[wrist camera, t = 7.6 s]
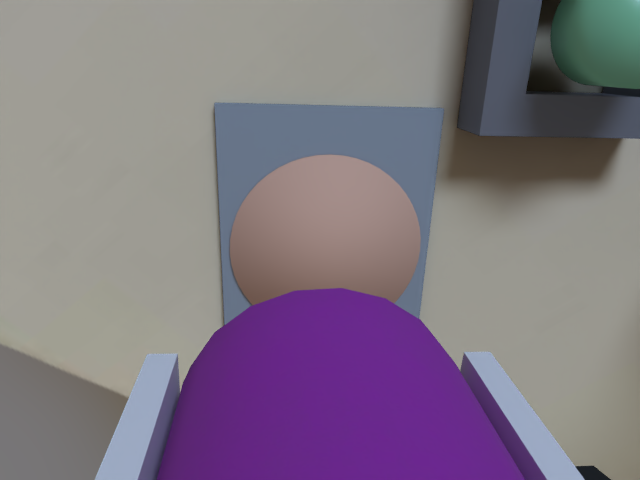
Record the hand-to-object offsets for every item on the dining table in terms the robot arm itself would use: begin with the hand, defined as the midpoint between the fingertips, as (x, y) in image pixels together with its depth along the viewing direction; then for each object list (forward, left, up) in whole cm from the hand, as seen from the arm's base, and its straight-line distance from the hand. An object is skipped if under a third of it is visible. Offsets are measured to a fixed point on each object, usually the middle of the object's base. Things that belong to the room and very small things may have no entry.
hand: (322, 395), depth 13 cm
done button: (-10, +14, -12) cm, 21 cm away
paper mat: (+2, +2, -15) cm, 15 cm away
